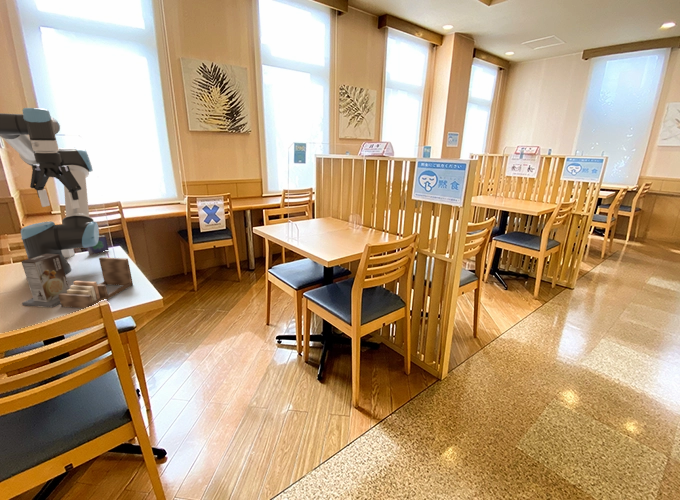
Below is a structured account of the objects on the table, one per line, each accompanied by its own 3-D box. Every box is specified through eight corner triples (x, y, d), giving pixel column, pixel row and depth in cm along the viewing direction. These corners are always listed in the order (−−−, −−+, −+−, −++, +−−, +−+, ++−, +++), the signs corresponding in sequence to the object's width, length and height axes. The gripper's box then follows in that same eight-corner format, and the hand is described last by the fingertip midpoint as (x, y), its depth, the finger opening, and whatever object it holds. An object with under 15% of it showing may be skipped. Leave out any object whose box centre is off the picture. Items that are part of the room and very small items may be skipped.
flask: (89, 255, 174) (85, 236, 170) (88, 254, 175) (83, 235, 172) (109, 251, 180) (105, 232, 177) (107, 250, 182) (103, 231, 179)
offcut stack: (70, 304, 121) (65, 285, 119) (80, 299, 125) (75, 280, 123) (91, 306, 120) (86, 286, 118) (100, 300, 124) (96, 281, 122)
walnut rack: (61, 306, 119) (53, 276, 116) (107, 283, 140) (101, 257, 136) (91, 308, 118) (84, 278, 115) (133, 284, 138) (127, 258, 135)
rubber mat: (22, 305, 120) (21, 302, 120) (53, 291, 131) (52, 289, 131) (52, 307, 119) (51, 304, 119) (80, 293, 130) (79, 290, 130)
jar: (73, 252, 177) (68, 231, 174) (75, 256, 172) (70, 234, 168) (52, 256, 171) (46, 234, 168) (53, 260, 166) (47, 237, 162)
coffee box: (57, 290, 130) (46, 252, 125) (70, 292, 129) (60, 254, 124) (32, 301, 121) (20, 260, 116) (47, 302, 120) (35, 262, 115)
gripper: (7, 151, 121) (24, 207, 128) (66, 153, 118) (80, 210, 125) (28, 150, 128) (43, 203, 135) (84, 152, 125) (96, 206, 132)
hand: (60, 207), depth 130 cm, fingers open, 13 cm apart
